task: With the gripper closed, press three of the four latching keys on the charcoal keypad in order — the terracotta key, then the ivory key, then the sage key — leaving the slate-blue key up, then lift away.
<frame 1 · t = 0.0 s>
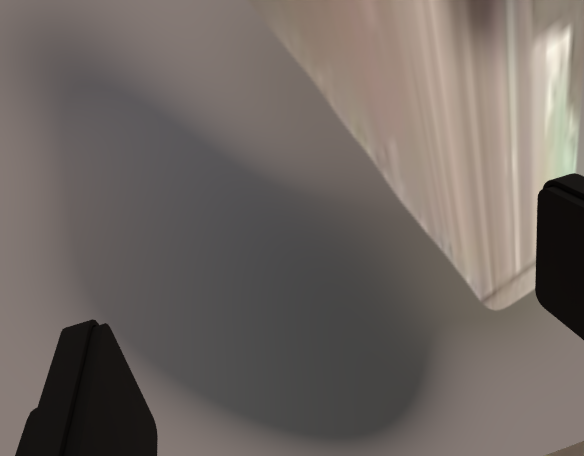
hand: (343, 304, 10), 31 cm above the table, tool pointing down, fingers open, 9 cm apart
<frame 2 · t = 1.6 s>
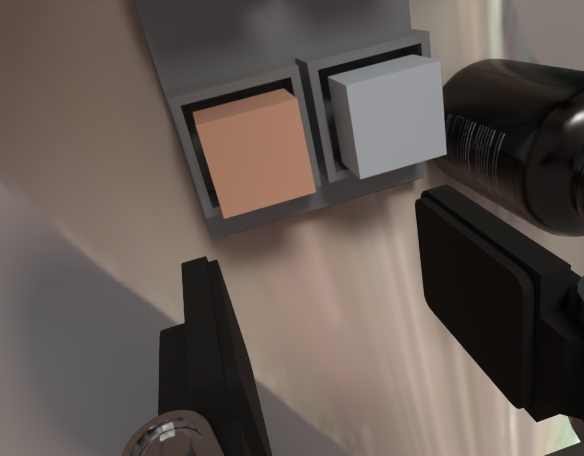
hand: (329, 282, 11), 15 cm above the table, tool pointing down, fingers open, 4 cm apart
supplement bottle: (476, 119, 28), on the table
terracotta key: (254, 152, 21), point 5 cm above the table, slide at 0.0 cm
keypad: (275, 7, 23), on the table
slate key: (387, 115, 21), point 5 cm above the table, slide at 0.0 cm
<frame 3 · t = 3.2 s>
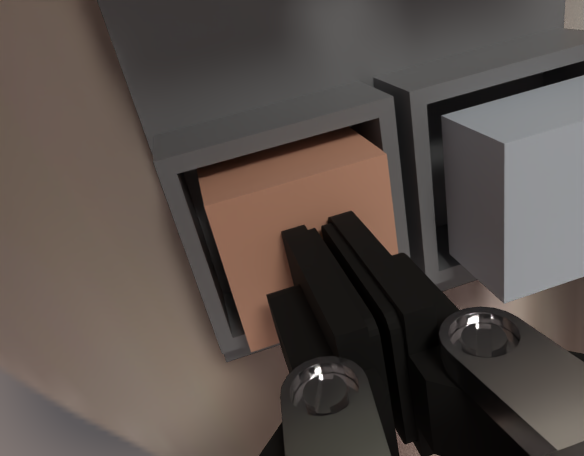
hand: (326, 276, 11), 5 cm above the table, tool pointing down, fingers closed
terracotta key: (300, 235, 12), point 3 cm above the table, slide at 1.2 cm, touching gripper
slate key: (546, 185, 12), point 5 cm above the table, slide at 0.0 cm
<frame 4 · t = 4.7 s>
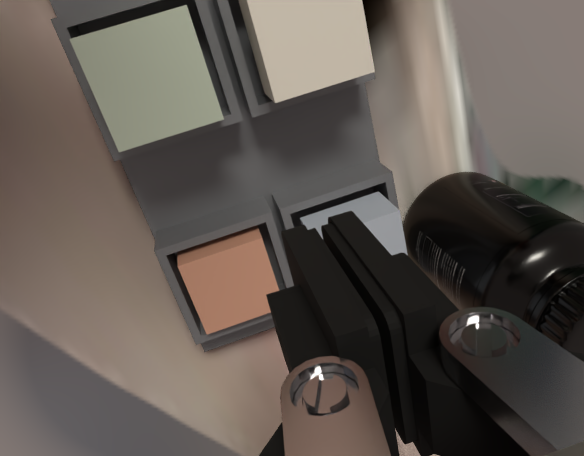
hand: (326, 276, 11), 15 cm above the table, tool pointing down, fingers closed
supplement bottle: (451, 221, 29), on the table
ivory key: (304, 31, 19), point 5 cm above the table, slide at 0.0 cm
terracotta key: (230, 275, 24), point 3 cm above the table, slide at 1.8 cm
keypad: (251, 147, 25), on the table
sage key: (152, 77, 18), point 5 cm above the table, slide at 0.0 cm
slate key: (356, 251, 23), point 5 cm above the table, slide at 0.0 cm
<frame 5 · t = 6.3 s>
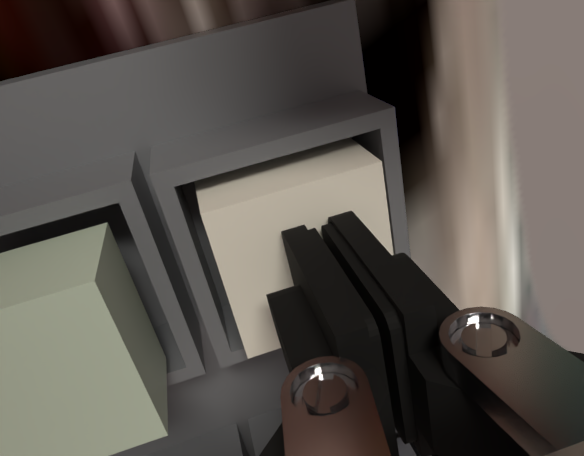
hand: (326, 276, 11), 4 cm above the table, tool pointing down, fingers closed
ivory key: (297, 241, 12), point 3 cm above the table, slide at 1.5 cm, touching gripper
keypad: (221, 351, 17), on the table
sage key: (42, 356, 10), point 5 cm above the table, slide at 0.0 cm
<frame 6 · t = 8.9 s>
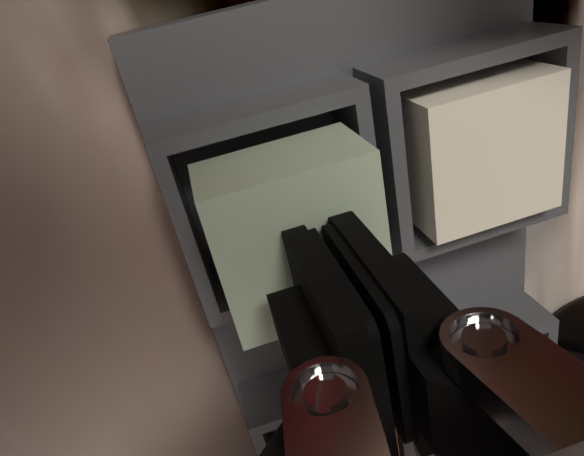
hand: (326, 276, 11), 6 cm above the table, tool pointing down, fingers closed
supplement bottle: (576, 341, 24), on the table
ivory key: (474, 148, 14), point 3 cm above the table, slide at 1.8 cm
terracotta key: (335, 441, 18), point 3 cm above the table, slide at 1.8 cm
keypad: (365, 270, 19), on the table
sage key: (293, 232, 12), point 4 cm above the table, slide at 0.1 cm, touching gripper
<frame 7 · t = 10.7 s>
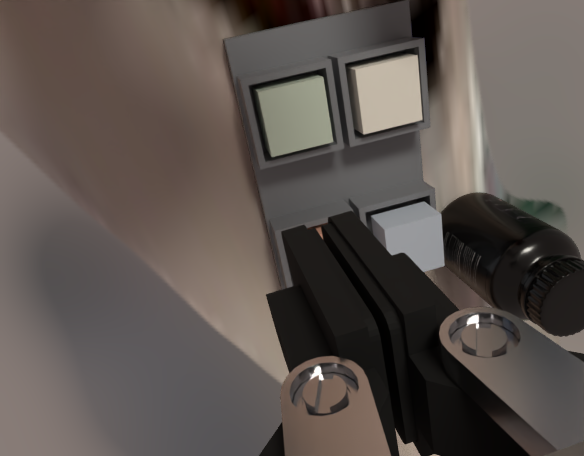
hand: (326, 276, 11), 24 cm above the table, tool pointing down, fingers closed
supplement bottle: (466, 227, 41), on the table
ivory key: (382, 92, 32), point 3 cm above the table, slide at 1.8 cm
terracotta key: (318, 252, 35), point 3 cm above the table, slide at 1.8 cm
keypad: (336, 165, 36), on the table
sage key: (292, 114, 31), point 3 cm above the table, slide at 1.8 cm
slate key: (407, 240, 34), point 5 cm above the table, slide at 0.0 cm
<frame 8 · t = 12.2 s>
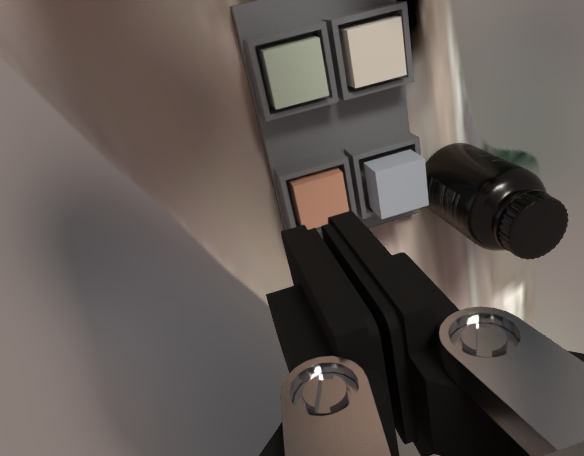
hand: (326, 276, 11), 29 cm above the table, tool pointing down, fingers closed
supplement bottle: (449, 176, 45), on the table
ivory key: (371, 51, 36), point 3 cm above the table, slide at 1.8 cm
terracotta key: (318, 197, 40), point 3 cm above the table, slide at 1.8 cm
keypad: (332, 120, 40), on the table
sage key: (293, 71, 35), point 3 cm above the table, slide at 1.8 cm
slate key: (396, 183, 39), point 5 cm above the table, slide at 0.0 cm
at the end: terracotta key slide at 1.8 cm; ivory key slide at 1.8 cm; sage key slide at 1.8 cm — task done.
